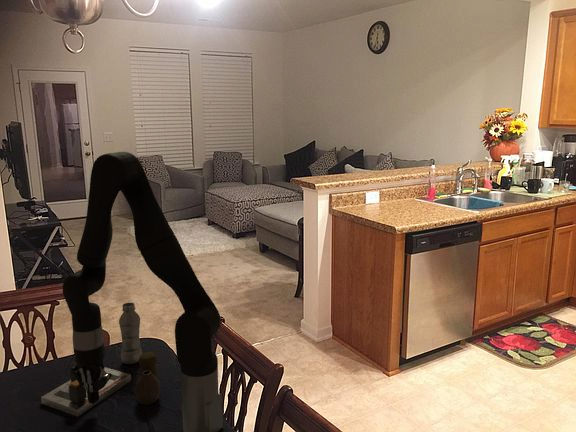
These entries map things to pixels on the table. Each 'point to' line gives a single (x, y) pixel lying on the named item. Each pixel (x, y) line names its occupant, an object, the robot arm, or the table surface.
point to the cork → (148, 363)
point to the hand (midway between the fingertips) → (93, 401)
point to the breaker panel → (61, 396)
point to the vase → (147, 388)
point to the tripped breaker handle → (76, 392)
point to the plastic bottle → (130, 334)
